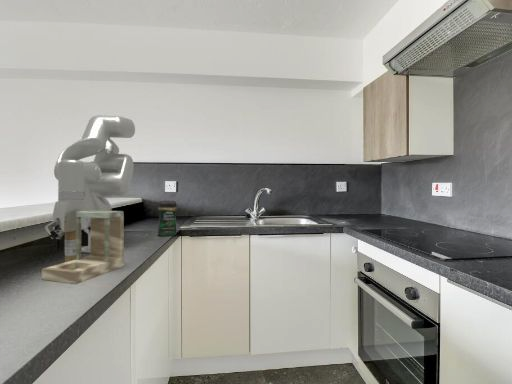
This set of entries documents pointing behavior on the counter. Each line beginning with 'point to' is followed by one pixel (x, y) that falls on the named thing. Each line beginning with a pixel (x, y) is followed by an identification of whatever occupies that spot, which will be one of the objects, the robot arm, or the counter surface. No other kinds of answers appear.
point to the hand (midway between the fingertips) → (71, 248)
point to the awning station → (93, 249)
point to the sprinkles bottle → (70, 246)
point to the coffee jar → (167, 218)
